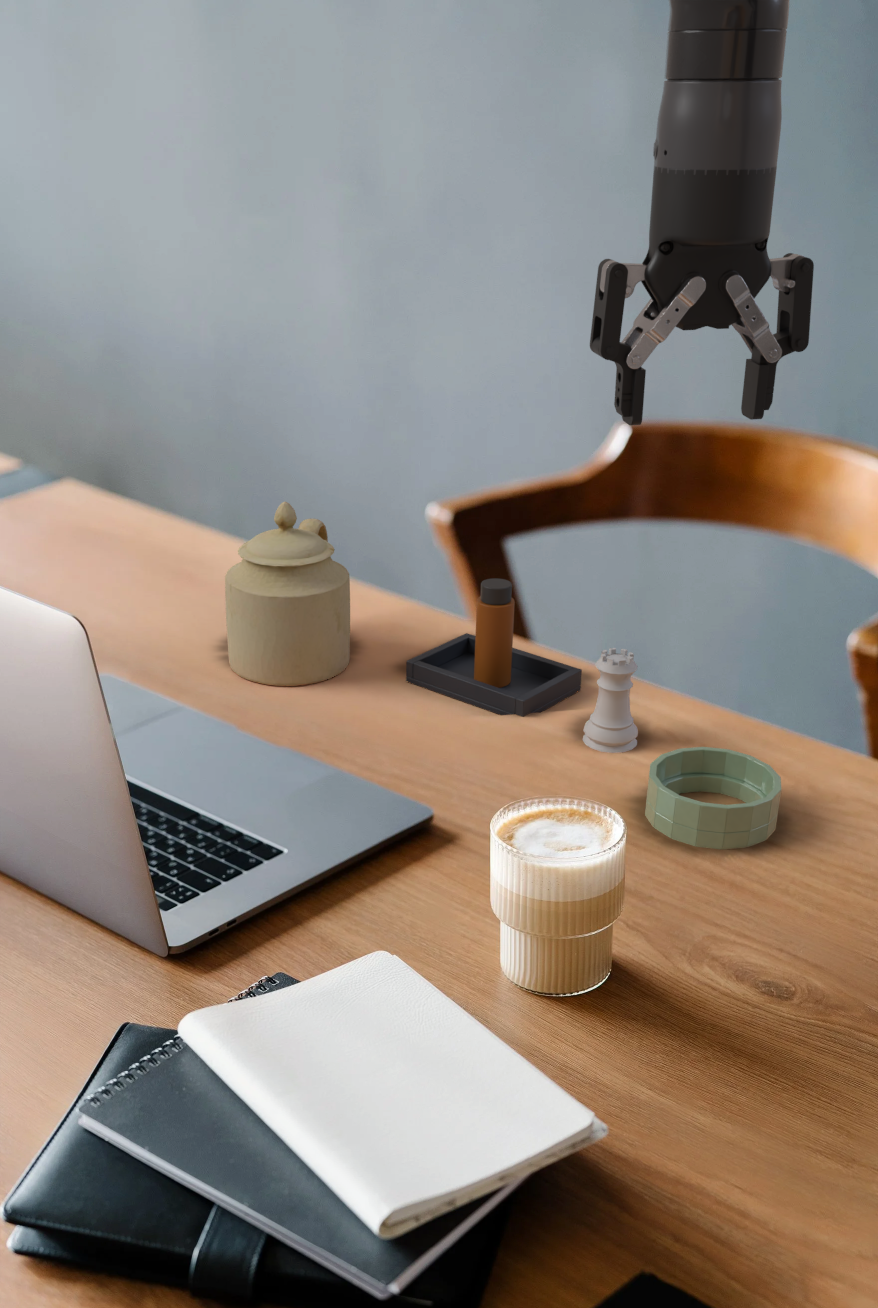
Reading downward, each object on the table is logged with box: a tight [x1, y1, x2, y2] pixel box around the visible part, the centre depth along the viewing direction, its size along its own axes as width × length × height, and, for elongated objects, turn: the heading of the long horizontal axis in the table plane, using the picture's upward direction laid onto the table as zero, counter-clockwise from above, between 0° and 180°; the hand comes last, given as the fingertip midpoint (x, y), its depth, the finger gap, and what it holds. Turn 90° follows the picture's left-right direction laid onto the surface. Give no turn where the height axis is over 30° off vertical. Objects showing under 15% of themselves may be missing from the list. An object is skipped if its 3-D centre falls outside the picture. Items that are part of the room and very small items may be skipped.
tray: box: [405, 632, 583, 718], centre depth 121 cm, size 13×9×2 cm
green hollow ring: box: [644, 746, 783, 851], centre depth 98 cm, size 9×9×4 cm
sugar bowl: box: [224, 501, 351, 687], centre depth 124 cm, size 15×11×15 cm
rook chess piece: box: [582, 647, 639, 754], centre depth 109 cm, size 4×4×8 cm
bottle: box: [474, 577, 516, 688], centre depth 119 cm, size 3×3×9 cm
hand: (692, 419), depth 94 cm, fingers open, 8 cm apart
